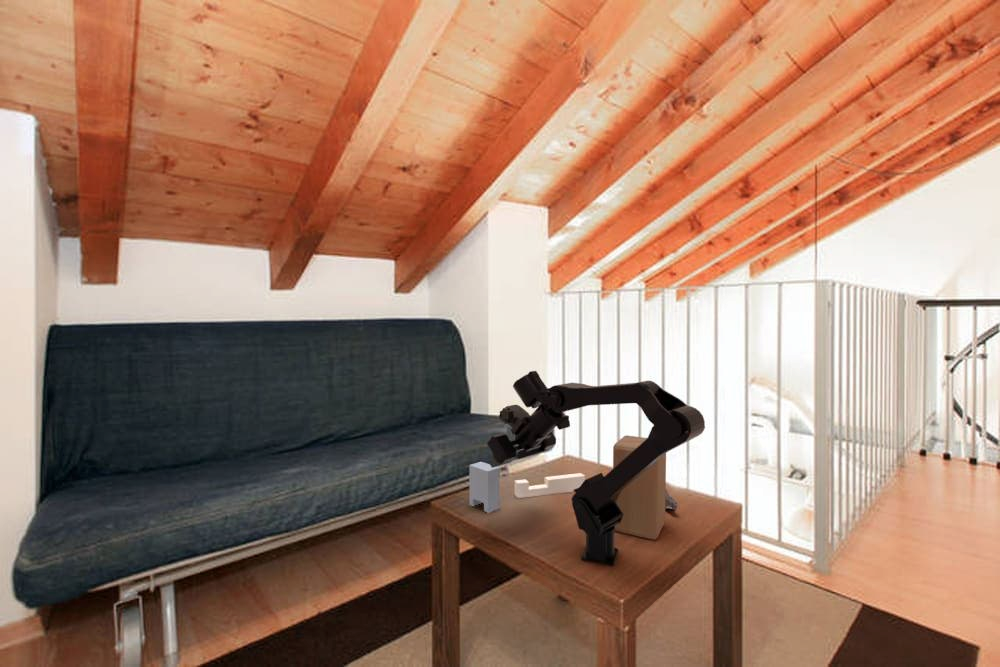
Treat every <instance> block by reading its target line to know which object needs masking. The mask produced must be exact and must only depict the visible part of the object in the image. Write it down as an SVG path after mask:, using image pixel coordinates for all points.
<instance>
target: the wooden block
mask: <svg viewBox="0 0 1000 667" xmlns="http://www.w3.org/2000/svg"><path fill="white" fill-rule="evenodd" d="M647 438H648V437H644V436H643V437H642V436H635V435H628V434H627V435H624V436H623V437H622V438H620V439H618V441H617V442H615V443H614V444H613V447H612V450H613V451H612V453H613V454H612V457H613V458H612V469H614V468H615V467H616V466H617V465H618V464H619V463H620V462H621V461H623V460H624V459H625V458H626V457H627V456H628V455H629V454H630V453H632V452H633V451H634V450H635V449H636V448H637V447H638V446H639V445H641V444H642V443H643V442H644V441H645V440H646V439H647ZM666 471H667V453H666V454H664V455H663V456H662V457H661V458H660V459H658V460H657V461H656V462H655V463H654V464H652V465H651V466H650V467H649V468H648V469H647V470H645V471H644V472H643V473H642V474H641V475H639V476H638V477H637V478H636V479H635V480H633V481H632V482H631V483H630V484H629V485H627V486H626V487H625V488H624V489H623V490H622V491H621V492H620V494H619V496H618V499H617V500H616V501H615V502H616V504H617V505H618V507H619V508H620V510H621V511H622V512H623V514H624V516H623V518H622V521H621V523H618V524H616V525H615V532H619V533H623V534H629V535H631V536H632V535H633V536H637V537H640V538H644V539H649V540H657V539H658V537H659V535H660V533H661V532H662V529H663V527H664V525H665V523H666V508H665V495H666V490H667V487H666V484H667V483H666V482H667V479H666V478H667V474H666V473H667V472H666Z"/></svg>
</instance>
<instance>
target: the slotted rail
mask: <svg viewBox="0 0 1000 667" xmlns="http://www.w3.org/2000/svg"><path fill="white" fill-rule="evenodd" d="M585 480H586V475H585V474H583V473H582V472H579V473H571V474H569V473H568V474H562V475H561V474H560V475H552V476H551V475H550V476H544V483H543V484H535V485H530V482H529V481H528V480H527V479H525V478H524V479H517V480H514V496H515V497H516V499H524V498H530V497H538V496H539V497H540V496H541V497H542V496H548V495H556V494H564V493H572V492H574V489H576V488H579V487H580V486H581V485H582V483H583V482H584V481H585Z"/></svg>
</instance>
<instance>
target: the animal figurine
mask: <svg viewBox="0 0 1000 667" xmlns="http://www.w3.org/2000/svg"><path fill="white" fill-rule="evenodd" d="M665 509H671V510H673V509H675V510H676V509H677V510H678V502H677V501H676V500H675V499H674V498H673V497H672V496H670V495H669V492H668V491H667V489H666V495H665Z"/></svg>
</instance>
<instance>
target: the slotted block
mask: <svg viewBox="0 0 1000 667" xmlns="http://www.w3.org/2000/svg"><path fill="white" fill-rule="evenodd" d="M468 467H469V474H468V475H469V506H470V505H472V506H475V505H477V506H479V505H478V504H480V505H482V504H481V503H483V512H484V511H485V512H487V513H486V514H490V512H491V513H492V511H493V512H495V511H497V509H498V510H499V509H500V467H499V466H496V467H493V468H492V467H491V465H490V463H486V462H483V461H479V462H476V463H472V464H469V466H468ZM472 506H471V507H472ZM475 507H476V506H475ZM494 510H495V511H494ZM485 512H484V513H485Z"/></svg>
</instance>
